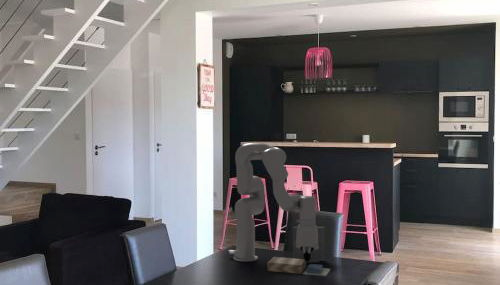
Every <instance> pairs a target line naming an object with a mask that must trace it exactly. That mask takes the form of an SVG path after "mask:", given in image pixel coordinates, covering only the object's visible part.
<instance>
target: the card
mask: <svg viewBox="0 0 500 285" xmlns="http://www.w3.org/2000/svg"><path fill="white" fill-rule="evenodd" d="M323 268H324V267H323V264H314V263H313V264H312V263H310V264H308V266H306V269H307V270H306V269H305V270H306V273H316V274H319V273H320V272H321V271H322V269H323Z"/></svg>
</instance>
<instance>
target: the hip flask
mask: <svg viewBox="0 0 500 285" xmlns="http://www.w3.org/2000/svg"><path fill="white" fill-rule="evenodd" d="M297 227H298V226H293V244H292V249H293V251H292V252H293V257H292V258H294V259H304V253H303V251H302V250H301V249H299V248H296V234H297ZM317 229H318V247H319V249H317V250H313V251H312V252H311V259H310V260H309V262H307V261H306V263H320V262H319V261H324V262H325V243H326V242H325V234H326V233H325V230H326V228H325V226H317ZM308 248H309V247H306V250H307V252H308Z"/></svg>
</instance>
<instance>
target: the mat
mask: <svg viewBox="0 0 500 285" xmlns="http://www.w3.org/2000/svg"><path fill="white" fill-rule="evenodd" d="M306 270H307V268H305V269H304V270H303V271H302V273H301V275H308V276H318V277H327V276H328V274H329V273H330V271H331V268H325V267H323V269H322V271H321V272H320V273H319V274H316V273H306Z"/></svg>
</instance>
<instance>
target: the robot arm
mask: <svg viewBox="0 0 500 285" xmlns="http://www.w3.org/2000/svg"><path fill="white" fill-rule="evenodd" d="M234 159H235V167H236V187H237V188H236V190H237V193H238V194H239V195H242V196H248V197H243V198H240V199H238V200H237V201H236V202H235V204H234V212H235V219H236V242H235V244H236V248H235V249H234V250H233V249H228V254H229V255H233V257H232V258H233V260H234V261H237V262H243V263H244V262H246V263H247V262H248V263H249V262H254V261H255V262H256V261H257V260H259V257H258V256H257V255H255V254H256V253H255V252H256V248H255V247H256V244H255V243H256V224H255V219H254V216H257V215H260V214H262V213H263V212H264V210H265V205H266V203H265V201H266V200H265V198H266V196H265V184H264V181H263V180H262V178H261V177H259V176H257V175H254V168H253V164H252V162H251V161H257V160H259V161H262V163H263V165H264V167H265V169H266V171H267V172H268V174H269V176H270V178H271V180H272V191H273V192H272V193H273V196H274V198H275V200H276V202H277V204H278V206H279V207H280V209H281V210H282V211H284V212H293V211H298V210H299V218H298V219H297V218H296V223H299V224H298V225H297V226H296V227H297V234H296V248H299V249H301V250H302V251H303V253H304V259H305V262H306V261H307V262H306V263H310V262H309V260H310V259H311V252H312V251H313V250H317V249H319V247H318V229H317V227H318V226H317V225H316V224H317V223H316V217H317V216H316V213H317V211H316V209H317V208H316V207H317V205H316V204H317V200H316V197H315V196H313V195H310V196H309V195H302V194H289V193H288V191H287V188H286V185H285V181H286V179H287V178H288V176H289V172H288V170H287V168H286V167H285V165H284V164H285V163H286V162H287V154H286V152H285V151H284V150H283V149H282V148H279V147H275V146H274V145H270V144H267V143H262V142H261V143H259V142H258V143H253V142H252V143H250V142H249V143H244V144H243V145H241V146H239V147H238V148H237V150H236V152H235V157H234ZM306 247H309V248H308V252H307V250H306Z"/></svg>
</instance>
